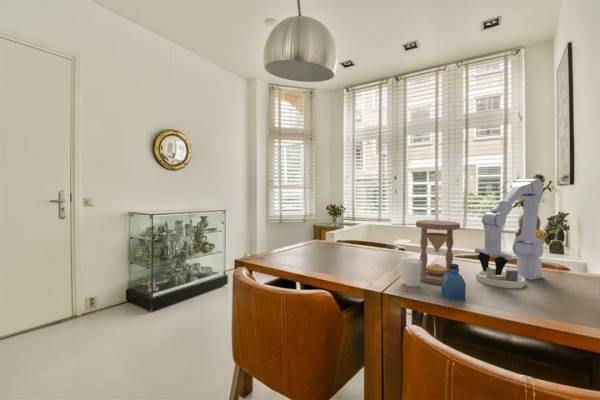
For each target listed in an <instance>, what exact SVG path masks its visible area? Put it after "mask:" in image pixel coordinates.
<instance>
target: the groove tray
mask: <svg viewBox="0 0 600 400" xmlns="http://www.w3.org/2000/svg"><path fill="white" fill-rule="evenodd" d="M475 279H476V281H478V282H480V283H481V284H486V285H488V286H493V287H498V288H506V289H521V288H524V287H525V286H526V278H524V277H522V276H520V275H518V281H506V271H504V270H502V273H501V275H497V280H496V279H491V278H487V277H486V272H484V271H483V269H481V270H477V271H476V272H475Z"/></svg>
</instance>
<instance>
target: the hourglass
mask: <svg viewBox="0 0 600 400" xmlns="http://www.w3.org/2000/svg"><path fill="white" fill-rule="evenodd" d="M415 226H416V227H417V228H420V229H421V233H420V234H421V235H420V243H419V244H420V248H421V253H420V256H419V260H421V261H422V265H421V278H420V282H424V283H430V284H434V285H441V286H442V277H443V275H444V274H445V273H446V272H449V270H448V267H449V264H453V259H454V254H453V251H452V249H453V246H454V236H453V235H454V233H453V232H454V231H455V230H460V228H461V223H460V222H456V221H451V220H450V221H449V220H439V219H437V220H436V219H425V220H424V219H423V220H417V221H416V222H415ZM428 230H437V231H446V233H443V232H428ZM428 242H430V244H431V246H433V249H434V252H435V253H439V252H440V249H441V247H443V245H444V244H445V245H446V249H447V250H446V253H445V263H446V265H445V266H443V265H440V264H438V263H433V264H430V265H427V264H428V255H427V248H428V246H429V244H428Z"/></svg>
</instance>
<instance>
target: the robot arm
mask: <svg viewBox="0 0 600 400" xmlns="http://www.w3.org/2000/svg"><path fill="white" fill-rule="evenodd" d="M543 192H544V183H543V182H542V180H541V179H540V178H528V179H527V178H523V179H521V178H520V179H519V178H515V179H513V181H512V182H511V183H510V190H509V191H508V192H507V194H506V196H505V197H504V199H501V200H500V199H499V200H498V201H497V203H496V204H495V205H494V206H493V207H492V208H491V210H490V211H489V212H486V213H484V214H483V216H482V218H481V223H482V224H483V230H484V248H480V247H475V248H474V253H475V254H477V256H476V257H477V258H478V259H479V262H480V264H481V268H482V270H483V271H484V272H486V268H487V267H489V263H490V257H494V258H493V260H494V264H495V268H496V275H501V273H502V271H504V267H505V266H506V264H507V263H508V262H509V261H510V260H511V261H512V260H513V255H512V254H510V253H506V252H503V251H502V250H501V249H502V228H503V226H504V225H505V224H506V219H507V216H508V214H510V212H512V209H513V208H514V206H513V204H514V203H515V202H516V201H517V200H518V199H519V198H522V199H523V200H524V203H523V204H524V205H523V211H522V212H523V214H522V223H521V232H520V235H518V236H516V237H515V238H514V242H513V244H512V252H513V253H514V255H515V257H516V270H517V271H518V275H520V276H522V277H524V278H525V280H530V281H531V280H536V279H543V278H544V276H543V275H542V273H543V270H542V269H543V266H542V265H543V263H542V260H541V259H540V258H541V257H542V255H543V254H544V247H543V241H542V240H541V239H540V238H539V237H537V236H536V235H537V223H538V215H539V208H540V199H541V198H543Z"/></svg>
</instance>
